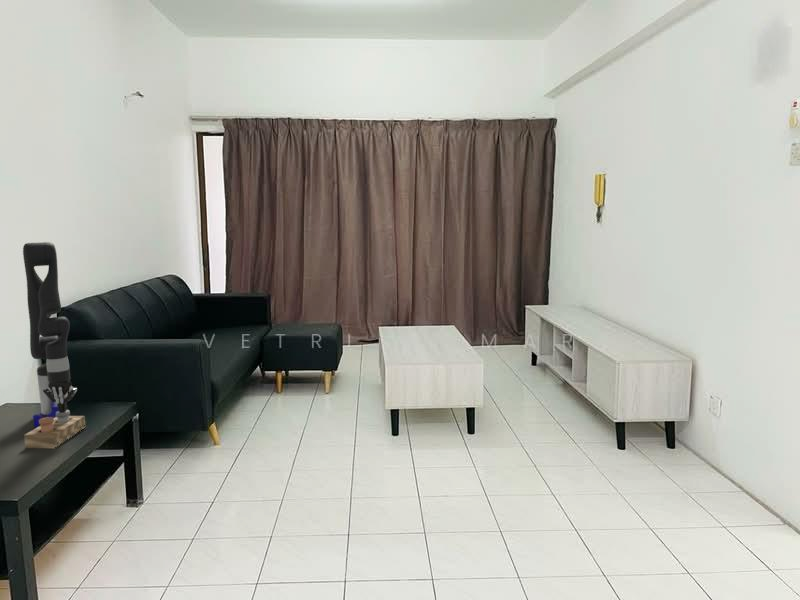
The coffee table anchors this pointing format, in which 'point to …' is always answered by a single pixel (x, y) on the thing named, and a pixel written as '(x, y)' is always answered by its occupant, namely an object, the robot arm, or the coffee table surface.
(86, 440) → the coffee table surface
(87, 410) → the coffee table surface
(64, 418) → the grey plunger
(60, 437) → the oak board
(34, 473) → the coffee table surface
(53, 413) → the cable clip
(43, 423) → the terracotta plunger
